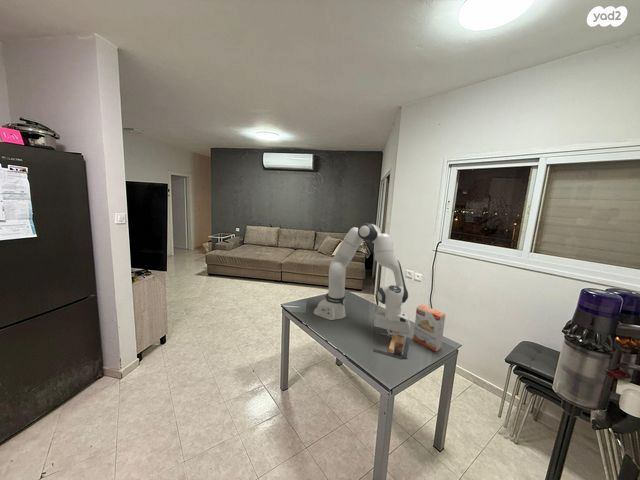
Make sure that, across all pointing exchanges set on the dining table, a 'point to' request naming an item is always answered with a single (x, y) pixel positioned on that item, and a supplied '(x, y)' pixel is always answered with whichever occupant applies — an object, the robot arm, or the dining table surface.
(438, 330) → the cracker box
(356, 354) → the dining table surface
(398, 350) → the walnut block
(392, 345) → the sliding jaw
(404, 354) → the base
